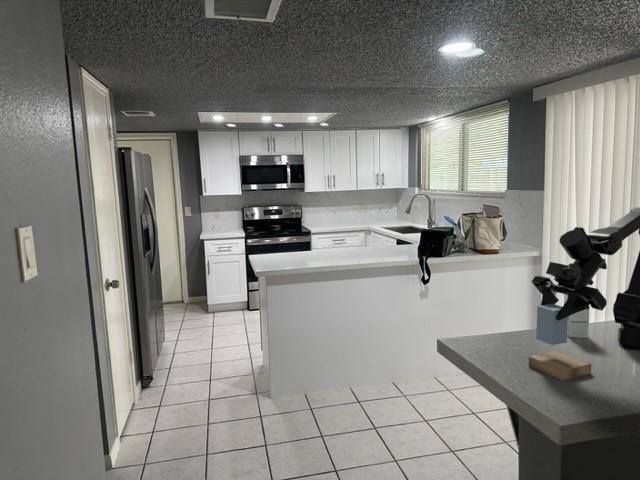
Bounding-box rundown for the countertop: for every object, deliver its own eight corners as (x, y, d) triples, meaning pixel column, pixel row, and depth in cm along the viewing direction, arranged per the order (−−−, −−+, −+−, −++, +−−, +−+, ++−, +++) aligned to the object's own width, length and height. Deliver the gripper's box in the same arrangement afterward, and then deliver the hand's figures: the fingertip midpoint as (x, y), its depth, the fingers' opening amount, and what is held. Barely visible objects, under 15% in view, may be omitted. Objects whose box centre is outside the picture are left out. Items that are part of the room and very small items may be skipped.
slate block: (550, 336, 117) (552, 303, 116) (566, 342, 112) (568, 308, 111) (536, 339, 115) (537, 305, 114) (551, 345, 111) (553, 310, 110)
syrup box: (589, 338, 134) (591, 292, 133) (568, 337, 136) (570, 291, 134) (581, 332, 140) (584, 287, 138) (561, 331, 141) (563, 287, 139)
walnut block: (555, 360, 119) (556, 350, 118) (590, 375, 110) (591, 363, 109) (528, 367, 115) (528, 356, 115) (562, 382, 106) (562, 370, 106)
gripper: (537, 246, 121) (504, 289, 119) (600, 256, 104) (563, 306, 101) (558, 272, 125) (526, 314, 122) (622, 285, 107) (586, 334, 105)
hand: (548, 316), depth 113 cm, fingers closed on slate block, 5 cm apart
